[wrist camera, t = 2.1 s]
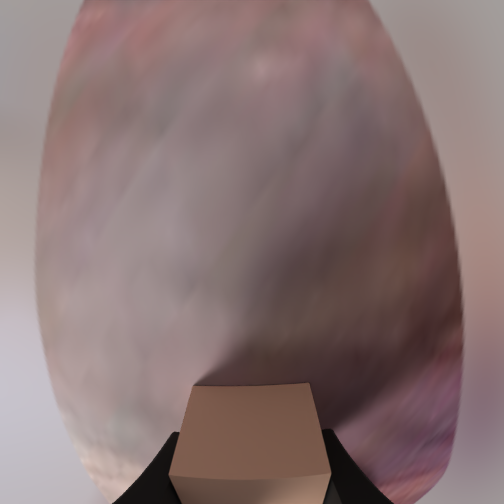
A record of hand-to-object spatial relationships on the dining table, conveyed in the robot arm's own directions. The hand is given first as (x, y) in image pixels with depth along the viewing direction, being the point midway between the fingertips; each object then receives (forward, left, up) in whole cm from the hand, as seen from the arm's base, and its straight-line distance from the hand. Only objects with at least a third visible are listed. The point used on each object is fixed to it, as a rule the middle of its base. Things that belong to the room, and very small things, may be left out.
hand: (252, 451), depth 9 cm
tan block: (0, 0, -1) cm, 1 cm away
